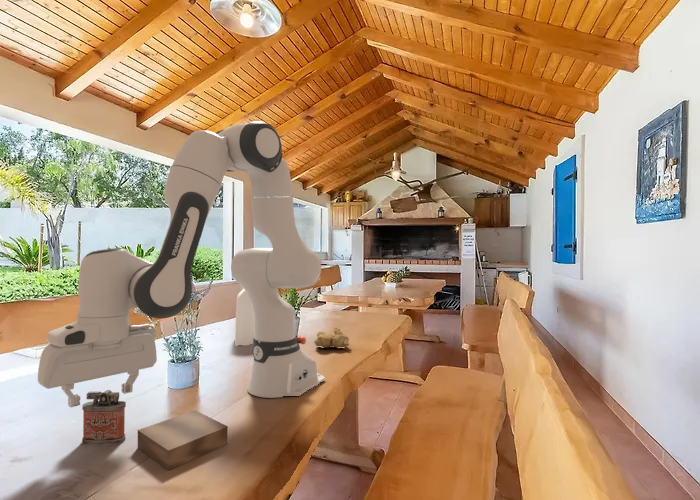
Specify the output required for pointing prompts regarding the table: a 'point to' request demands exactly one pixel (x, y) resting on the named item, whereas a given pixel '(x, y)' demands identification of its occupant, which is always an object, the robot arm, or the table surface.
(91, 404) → the lighter
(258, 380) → the robot arm
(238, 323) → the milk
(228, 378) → the table surface
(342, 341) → the ginger root
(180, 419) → the walnut base
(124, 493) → the table surface
